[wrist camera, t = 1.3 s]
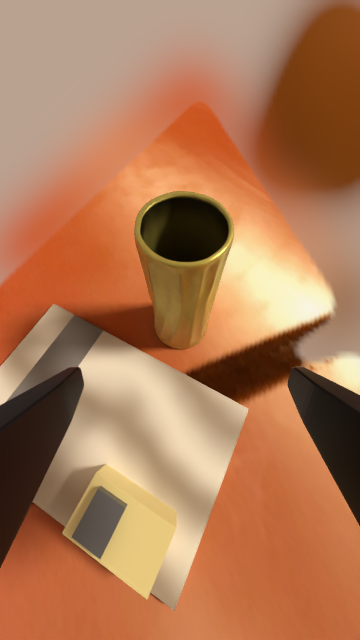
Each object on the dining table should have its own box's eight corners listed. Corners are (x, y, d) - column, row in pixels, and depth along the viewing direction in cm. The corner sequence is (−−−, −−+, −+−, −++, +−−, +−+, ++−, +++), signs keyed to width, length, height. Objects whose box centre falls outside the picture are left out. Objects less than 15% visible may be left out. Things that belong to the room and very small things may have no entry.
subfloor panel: (174, 600, 15) (174, 610, 15) (-48, 432, 19) (-57, 433, 19) (246, 408, 20) (248, 409, 20) (57, 306, 24) (53, 303, 24)
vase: (157, 298, 25) (133, 182, 12) (207, 301, 25) (240, 187, 12) (151, 347, 23) (115, 271, 9) (207, 350, 23) (247, 278, 9)
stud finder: (176, 511, 17) (176, 532, 14) (151, 571, 15) (145, 608, 13) (106, 464, 18) (93, 475, 15) (77, 515, 17) (57, 538, 14)
